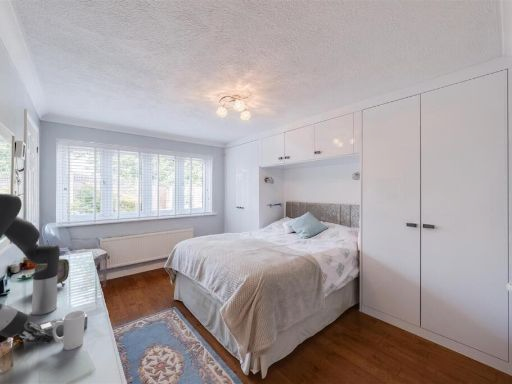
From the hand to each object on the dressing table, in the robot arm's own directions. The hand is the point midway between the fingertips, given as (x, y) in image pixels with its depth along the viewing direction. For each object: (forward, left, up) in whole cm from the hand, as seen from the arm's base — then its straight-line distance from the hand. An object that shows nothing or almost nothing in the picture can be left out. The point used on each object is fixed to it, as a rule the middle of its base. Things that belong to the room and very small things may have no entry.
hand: (51, 339), depth 88 cm
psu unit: (-12, +4, -5) cm, 14 cm away
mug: (+1, +5, -5) cm, 7 cm away
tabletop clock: (-71, +11, -5) cm, 72 cm away
